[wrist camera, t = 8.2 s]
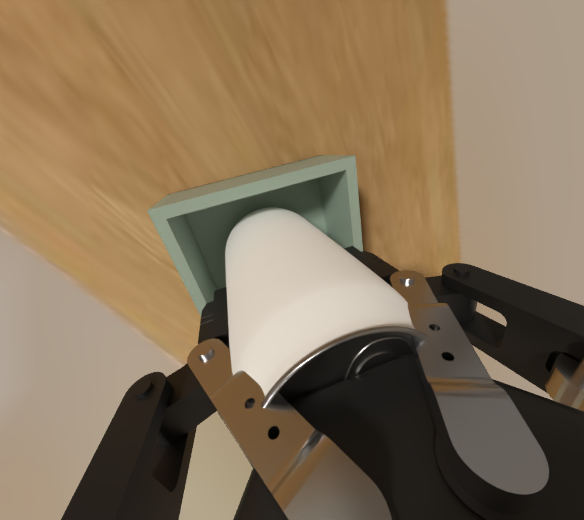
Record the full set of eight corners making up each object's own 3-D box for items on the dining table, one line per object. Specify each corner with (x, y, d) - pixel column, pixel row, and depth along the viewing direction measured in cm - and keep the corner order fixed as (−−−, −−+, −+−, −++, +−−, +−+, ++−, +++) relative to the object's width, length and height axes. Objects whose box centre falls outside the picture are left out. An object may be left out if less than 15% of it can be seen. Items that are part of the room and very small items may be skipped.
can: (329, 230, 17) (495, 348, 7) (286, 300, 19) (370, 483, 8) (251, 187, 15) (329, 271, 4) (208, 272, 16) (188, 491, 6)
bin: (168, 194, 15) (146, 210, 11) (320, 155, 17) (355, 155, 12) (224, 318, 20) (225, 364, 16) (337, 278, 22) (367, 310, 17)
